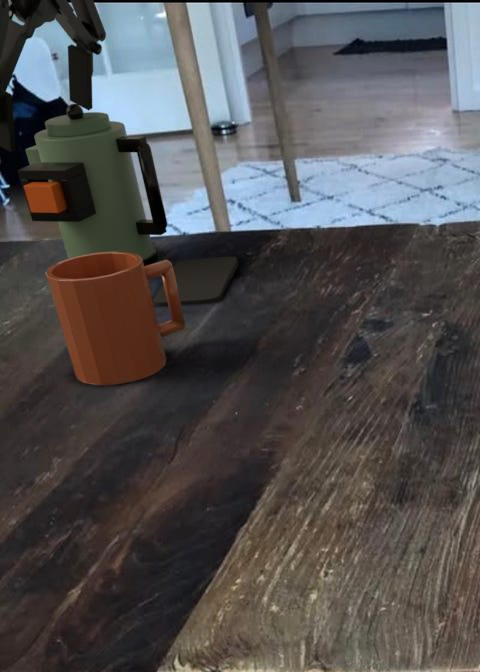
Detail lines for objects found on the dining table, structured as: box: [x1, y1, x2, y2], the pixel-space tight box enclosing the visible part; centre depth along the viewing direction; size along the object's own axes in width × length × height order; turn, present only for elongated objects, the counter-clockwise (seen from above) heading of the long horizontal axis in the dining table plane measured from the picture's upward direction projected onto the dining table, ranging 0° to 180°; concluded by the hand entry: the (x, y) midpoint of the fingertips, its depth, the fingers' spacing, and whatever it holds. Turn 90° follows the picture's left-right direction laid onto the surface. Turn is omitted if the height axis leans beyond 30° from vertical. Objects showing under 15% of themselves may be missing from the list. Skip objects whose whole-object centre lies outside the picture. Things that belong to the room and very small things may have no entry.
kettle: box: [17, 103, 168, 266], centre depth 129 cm, size 16×14×18 cm
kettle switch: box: [24, 182, 68, 213], centre depth 123 cm, size 4×2×3 cm, turn 72°
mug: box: [45, 252, 186, 386], centre depth 104 cm, size 12×8×10 cm
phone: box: [152, 256, 239, 307], centre depth 126 cm, size 7×1×15 cm
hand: (43, 124), depth 131 cm, fingers open, 13 cm apart
